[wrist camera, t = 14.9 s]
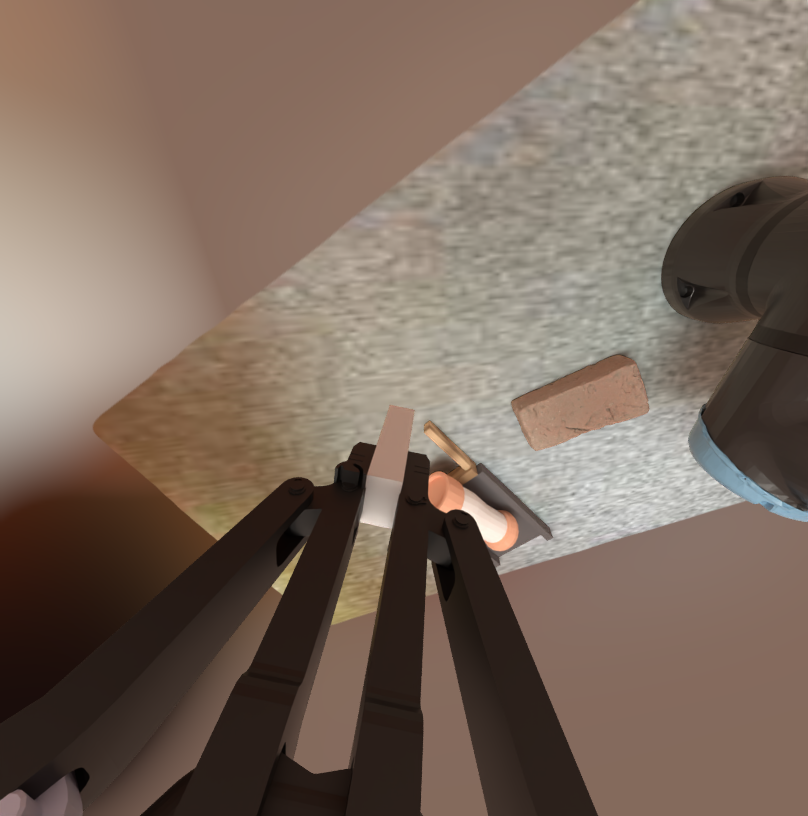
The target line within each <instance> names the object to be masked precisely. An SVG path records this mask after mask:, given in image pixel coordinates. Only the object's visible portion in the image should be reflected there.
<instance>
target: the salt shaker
mask: <svg viewBox="0 0 808 816" xmlns="http://www.w3.org/2000/svg"><path fill="white" fill-rule="evenodd" d="M428 498H429V500H430V502H431V503H432V505H434V506H435V507H436V508H437V509H439V510H441V511H443V512H445V513H447V512H449V511H450V510H454V509H458V510H463V511H465V512H467V513H469V514H470V515H471V516H473V518H474V519H475V521H476V523H477V525H478V527H479V530H480V532H481V535H482V537H483V539H484V541H485V543H486V544H487V546H488V547H489V548H491V549H492V550H495V551H505V550H507V549H509V548H510V547H512V546H513V545H514V544H515V542H516V540H517V538H518V533H519V530H518V524H517V521H516V519H515V518H514V517H513V515H512V514H511V513H509V512H508V511H504V510H495V509H494V508H492V507H490V506H489V505H487V504H486V503H485V502H484V501H483V500H481V499H480V498H479V497H478V496H477V495H476V494H475V493H473V492H471V491H470V490H468V489H466V488H464V487H463V486H462V485H461V483H460V482H459V481H457V480H455V479H454V478H452V477H450V476H449V475H447V474H445V473H443V472H441V471H440V472H435V473H432V474H431V475H430V476H429V486H428Z"/></svg>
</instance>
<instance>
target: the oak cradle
mask: <svg viewBox="0 0 808 816" xmlns="http://www.w3.org/2000/svg"><path fill="white" fill-rule="evenodd" d="M424 433H425V434H426V435H427V436H428V437H429V438H430V439H431V440H433V441H434V442H435V443H436V444H437V445H438V446H439V447H440V448H441V449H442V450H443V451H444V452H446V453H447V454H448V455H449V456H450V457H451V458H452V459H453V460H454V461H455V462H456V463H457V464H459V465H460V466H459V467H457V468H456V469H454V470H453V471H451V472H450V473H449V474H447V475H449V476H450V477H452V478H454V479H455V480H457V481H459V482H460V483H461V485H463V484H465V483H466V482H468V481H469V480H471V479H472V478H474V477H475V476H477V475H478V473H477V468H476V464H475V463H474V462H473V461H472V460H471V459H470V458H469V457H468V456H467V455H466V454H465V453H464V452H463V451H462V450H461V449H460V448H458V447H457V446H456V445H455V444H454V443H453V442H452V441H451V440H450V439H449V438H448V437H447V436H446V435H445V434H444V433H443V432H441V431H440V430H439V429H438V428H437V427H436V426H435V425H434V424H433V423H432V422H431V421H428V422H427V423H426V424H425V425H424Z"/></svg>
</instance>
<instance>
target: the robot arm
mask: <svg viewBox="0 0 808 816" xmlns="http://www.w3.org/2000/svg"><path fill="white" fill-rule="evenodd" d="M662 287H663V292H664V295H665V297H666V299H667V301H668V303H669V304H670V305H671V307H672V308H673V309H674V310H676V311H677V312H678V313H680V314H681V315H683V316H686V317H688V318H691V319H695V320H699V321H702V322H707V323H733V322H742V321H750V320H758V319H760V320H759V322H758V324H757V325H756V327H755V328H754V330H753V332H752V333H751V335H750V336H749V338H748V339H747V340H746V342H745V344H744V345H743V347H742V348H741V350H740V352H739V353H738V355H737V356H736V358H735V359H734V361H733V363H732V364H731V366H730V367H729V369H728V371H727V372H726V374H725V375H724V377H723V378H722V380H721V382H720V383H719V385H718V386H717V388H716V389H715V391H714V393H713V394H712V396H711V397H710V399H709V401H708V402H707V403H706V404H704V405H703V406H702V408H701V409H700V411H699V416H698V419H697V421H696V423H695V425H694V427H693V428H692V430H691V432H690V434H689V438H688V442H689V447H690V452H691V454H692V455H693V457H694V459H695V460H696V461H697V463H698V464H699V465H700V466H701V467H702V468H703V469H704V470H705V471H706V472H707V473H708V474H709V475H710V476H711V477H713V478H714V479H715V480H716V481H718V482H719V483H720V484H722V485H723V486H724V487H726V488H727V489H729V490H730V491H732V492H733V493H735V494H737V495H738V496H740V497H742V498H743V499H745V500H747V501H749V502H751V503H753V504H758V503H760V504H761V505H763V506H764V507H765V508H766V509H768V511H770V512H773V513H775V514H778V515H780V516H783V517H787V518H790V519H794V520H799V521H804V522H808V180H807V179H803V178H798V177H792V176H776V177H768V178H763V179H758V180H754V181H749V182H745V183H742V184H739V185H736V186H733V187H731V188H729V189H727V190H725V191H723V192H721V193H719V194H718V195H716V196H714V197H713V198H711V199H710V200H708V201H707V202H706V203H704V204H703V205H702V206H701V207H700V208H698V209H697V210H696V211H695V212H694V213H693V214H692V215H691V216H690V217H689V218H688V219H687V221H686V222H685V223H684V224H683V225H682V227H681V228H680V229H679V231H678V232H677V234H676V235H675V237H674V239H673V241H672V242H671V244H670V246H669V249H668V251H667V254H666V256H665V259H664V263H663V268H662ZM414 411H415V410H413V409H408V408H403V407H398V406H393V405H390V406H389V410H388V413H387V416H386V419H385V422H384V425H383V428H382V431H381V434H380V437H379V440H378V443H377V445H372V444H367V443H362V442H359V443H358V444H356V445H355V446H354V447H353V449H352V451H351V454H350V456H349V458H348V460H347V461H345V462H342V463H340V464H338V465H337V466H336V467H335V476H334V483H333V484H331V485H327V486H314V485H313V483H312V482H311V481H310V480H308V479H306V478H302V477H296V478H291V479H288V480H287V481H285V482H284V483H282V484H281V485H280V486H279V487H278V488H277V489H276V490H275V491H273V492H272V493H271V494H270V495H269V496H268V497H267V498H266V499H264V500H263V501H262V502H261V503H260V504H259V505H258V506H257V507H255V508H254V509H253V510H252V511H251V512H250V513H249V514H248V515H246V516H245V517H244V518H243V519H242V520H241V521H240V522H239V523H238V524H236V525H235V526H234V527H233V528H232V529H231V530H230V531H229V532H227V533H226V534H225V535H224V536H223V537H222V538H221V539H220V540H218V541H217V542H216V543H215V544H214V545H213V546H212V547H211V548H209V549H208V550H207V551H206V552H205V553H204V554H203V555H202V556H200V557H199V558H198V559H197V560H196V561H195V562H194V563H193V564H192V565H190V566H189V567H188V568H187V569H186V570H185V571H184V572H183V573H181V574H180V575H179V576H178V577H177V578H176V579H175V580H174V581H172V582H171V583H170V584H169V585H168V586H167V587H166V588H165V589H164V590H163V591H161V592H160V593H159V594H158V595H157V596H156V597H155V598H153V599H152V600H151V601H150V602H149V603H148V604H147V605H146V606H144V607H143V608H142V609H141V610H140V611H139V612H138V613H137V614H135V615H134V616H133V617H132V618H131V619H130V620H129V621H128V622H126V623H125V624H124V625H123V626H122V627H121V628H120V629H119V630H118V631H116V632H115V633H114V634H113V635H112V636H111V637H110V638H109V639H108V640H106V641H105V642H104V643H103V644H102V645H101V646H100V647H98V648H97V649H96V650H95V651H94V652H93V653H92V654H91V655H90V656H88V657H87V658H86V659H85V660H84V661H83V662H82V663H80V664H79V665H78V666H77V667H76V668H75V669H74V670H73V671H72V672H70V673H69V674H68V675H67V676H66V677H65V678H64V679H63V680H61V681H60V682H59V683H58V684H57V685H56V686H55V687H54V688H52V689H51V690H50V691H49V692H48V693H47V694H46V695H45V696H43V697H42V698H41V699H39V700H37V701H36V702H34V703H32V704H31V705H29V706H28V707H26V708H24V709H23V710H21V711H20V712H18V713H17V714H15V715H14V716H12V717H10V718H9V719H7V720H6V721H4V722H2V723H1V724H0V816H83V811H84V810H85V809H86V808H87V807H88V806H89V805H90V804H91V803H93V802H94V800H95V799H96V798H97V797H98V796H99V795H100V794H101V793H102V792H103V791H104V790H105V789H106V788H107V787H108V786H109V785H110V784H111V783H112V782H113V780H115V779H116V778H117V776H119V774H120V773H121V772H122V771H123V770H124V769H125V767H126V766H127V765H128V764H129V763H130V761H132V759H133V758H134V757H135V756H136V754H137V753H138V752H139V751H140V750H141V749H142V748H143V746H144V745H145V744H146V743H147V741H148V740H149V739H150V738H151V736H152V735H153V734H154V733H155V731H156V730H157V729H158V728H159V726H160V725H161V724H162V723H163V721H164V720H165V719H166V718H167V716H168V715H169V714H170V712H171V711H172V710H173V709H174V707H175V706H176V705H177V704H178V702H179V701H180V700H181V699H182V697H183V696H184V695H185V694H186V692H187V691H188V690H189V689H190V687H191V686H192V685H193V684H194V682H195V681H196V680H197V679H198V677H199V676H200V675H201V674H202V672H203V671H204V670H205V669H206V667H207V666H208V665H209V664H210V662H211V661H212V660H213V659H214V657H215V656H216V655H217V654H218V652H219V651H220V650H221V648H222V647H223V646H224V645H225V643H226V642H227V641H228V640H229V638H230V637H231V636H232V635H233V633H234V632H235V631H236V630H237V628H238V627H239V626H240V625H241V623H242V622H243V621H244V620H245V618H246V617H247V616H248V614H249V613H250V612H251V611H252V610H253V608H254V607H255V606H256V604H257V603H258V602H259V601H260V599H261V598H262V597H263V596H264V594H265V593H266V592H267V591H268V589H269V588H270V587H271V586H272V584H273V583H274V582H275V581H276V579H277V578H278V577H279V576H280V574H281V573H282V572H283V571H284V569H285V568H286V567H287V566H288V564H289V563H290V562H291V561H292V559H293V558H294V557H295V556H296V554H297V553H298V552H299V551H300V549H301V548H302V547H303V545H304V544H305V543H306V542H307V543H306V545H305V547H304V550H303V552H302V554H301V556H300V558H299V561H298V563H297V565H296V567H295V569H294V572H293V574H292V576H291V578H290V580H289V583H288V585H287V587H286V589H285V591H284V594H283V596H282V598H281V600H280V602H279V605H278V607H277V609H276V611H275V613H274V616H273V618H272V620H271V622H270V624H269V627H268V629H267V631H266V633H265V635H264V637H263V640H262V642H261V644H260V646H259V649H258V651H257V653H256V655H255V657H254V659H253V662H252V664H251V666H250V667H249V669H248V670H247V671H246V672H245V673H244V674H242V675H241V677H240V678H239V680H238V681H237V682H236V684H235V686H234V688H233V690H232V692H231V694H230V696H229V698H228V700H227V703H226V705H225V707H224V709H223V711H222V713H221V715H220V718H219V720H218V722H217V724H216V726H215V728H214V730H213V732H212V735H211V737H210V739H209V741H208V743H207V745H206V747H205V749H204V751H203V753H202V756H201V758H200V760H199V762H198V764H197V766H196V768H195V769H193V770H191V771H190V772H189V773H188V774H186V775H185V776H184V777H182V778H181V779H180V780H178V781H177V782H176V783H175V784H174V785H173V786H172V787H170V788H169V789H168V790H167V791H166V792H165V793H164V794H163V795H162V796H161V797H160V798H159V799H158V800H156V801H155V802H154V803H153V804H152V805H151V806H150V807H149V808H148V809H147V810H146V811H145V812H143V814H141V815H140V816H423V815H422V813H421V812H420V807H421V781H422V755H423V753H422V752H423V714H422V711H421V706H420V697H421V676H422V655H423V654H422V653H423V634H424V633H423V632H424V612H425V592H426V571H427V558H428V559H429V560H431V561H432V568H433V573H434V577H435V581H436V586H437V590H438V595H439V599H440V604H441V608H442V612H443V616H444V621H445V626H446V630H447V634H448V639H449V643H450V648H451V652H452V657H453V661H454V665H455V670H456V674H457V679H458V683H459V687H460V692H461V696H462V700H463V705H464V710H465V714H466V719H467V723H468V727H469V731H470V736H471V741H472V745H473V749H474V754H475V758H476V763H477V767H478V771H479V776H480V780H481V785H482V789H483V794H484V798H485V803H486V807H487V811H488V816H598V815H597V812H596V810H595V807H594V805H593V803H592V800H591V798H590V796H589V793H588V790H587V788H586V786H585V783H584V781H583V778H582V776H581V774H580V771H579V769H578V767H577V764H576V761H575V759H574V757H573V754H572V752H571V749H570V747H569V745H568V742H567V740H566V737H565V735H564V732H563V730H562V728H561V725H560V723H559V720H558V718H557V716H556V713H555V711H554V708H553V706H552V704H551V701H550V699H549V696H548V694H547V691H546V689H545V687H544V684H543V682H542V679H541V677H540V675H539V672H538V670H537V667H536V665H535V662H534V660H533V658H532V655H531V653H530V651H529V648H528V646H527V643H526V641H525V638H524V636H523V634H522V631H521V629H520V626H519V624H518V621H517V619H516V617H515V614H514V612H513V609H512V607H511V605H510V602H509V600H508V597H507V595H506V593H505V590H504V588H503V585H502V583H501V580H500V578H499V576H498V573H497V571H496V568H495V566H494V564H493V561H492V559H491V556H490V554H489V551H488V549H487V547H486V544H485V542H484V539H483V537H482V535H481V532H480V530H479V527H478V525H477V523H476V521H475V519H474V518H473V516H471V515H470V514H469V513H467V512H465V511H463V510H458V509H454V510H450V511H449V512H447V513H445V512H443V511H441V510H439V509H437V508H436V507H435V506H434V505H432V503H431V502H430V500H429V498H428V486H429V467H430V461H429V459H428V458H427V456H426V455H424V454H419V453H414V452H409V451H408V448H409V442H410V436H411V430H412V424H413V417H414ZM359 522H362V523H367V524H371V525H376V526H381V527H386V528H390V529H392V532H391V536H390V541H389V545H388V550H387V551H388V552H387V558H386V563H385V569H384V575H383V580H382V586H381V591H380V597H379V602H378V608H377V614H376V619H375V625H374V630H373V636H372V641H371V647H370V653H369V658H368V664H367V669H366V675H365V680H364V686H363V691H362V697H361V703H360V708H359V714H358V719H357V726H356V730H355V736H354V742H353V747H352V751H351V756H350V762H349V767H348V769H344V770H338V771H332V772H326V773H320V774H313V773H311V772H309V771H308V770H306V769H305V768H303V767H302V766H300V765H299V764H298V763H296V762H295V761H293V758H294V754H295V750H296V746H297V742H298V737H299V732H300V728H301V725H302V720H303V717H304V714H305V711H306V707H307V704H308V700H309V697H310V694H311V690H312V686H313V683H314V680H315V676H316V673H317V669H318V666H319V663H320V659H321V656H322V652H323V649H324V645H325V642H326V639H327V635H328V632H329V628H330V625H331V621H332V618H333V615H334V611H335V608H336V604H337V601H338V597H339V594H340V591H341V587H342V584H343V580H344V577H345V573H346V570H347V567H348V563H349V560H350V556H351V553H352V549H353V546H354V543H355V539H356V536H357V532H358V526H359ZM307 540H308V541H307Z"/></svg>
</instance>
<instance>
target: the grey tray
mask: <svg viewBox="0 0 808 816" xmlns="http://www.w3.org/2000/svg"><path fill="white" fill-rule="evenodd" d="M476 468H477V473H478V475H477V476H475V477H474V478H472V479H471V480H469V481H468V482H466V483H465V484H463V485H462V486H463V487H464V488H466V489H468V490H470V491H471V492H473V493H475V494H476V495H477V496H478V497H479V498H480V499H481V500H483V501H484V502H485V503H486V504H487V505H489V506H490V507H492V508H494V509H495V510H504V511H508V512H509V513H511V514H512V515H513V517H514V518H515V519H516V521H517V524H518V530H519V533H518V538H517V540H516V542H515V544H514V545H513V546H512V547H510V548H509V549H507V550H505V551H495V550H492V549H491V548H489V547H488V546H487V544H486V543H485V544H486V547H487V549H488V551H489V554H490V556H491V559H492V561H493V564H494V566H495V567H497V566H499V565H500V561H499V557H500V556H502V555H503V554H505V553H507V552H509V551H511V550H513V549H515V548H517V547H519V546H520V545H522V544H524V543H526V542H528V541H530V540H532V539H534V538H536V537H538V536H539V535H542V536H543V537H544V538H545V539H546V540H547V541H548V540H550V539H552V538H553V536H552V534H551V531H550V529H549V527H548V526H547V525H546V524H545V523H544V522H543V521H542V520H541V519H539V518H538V517H537V516H536V515H535V514H534V513H533V512H532V511H531V510H530V509H529V508H528V507H527V506H526V505H525V504H524V503H523V502H522V501H520V500H519V499H518V498H517V497H516V496H515V495H514V494H513V493H512V492H511V491H510V490H509V489H508V488H507V487H506V486H505V485H504V484H503V483H502V482H500V481H499V480H498V479H497V478H496V477H495V476H494V475H493V474H492V473H491V472H490V471H489V470H488V469H487V468H486V467H485V466H484V465H483V464H482V463H480V464H478V465H477V466H476ZM484 542H485V541H484Z"/></svg>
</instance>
